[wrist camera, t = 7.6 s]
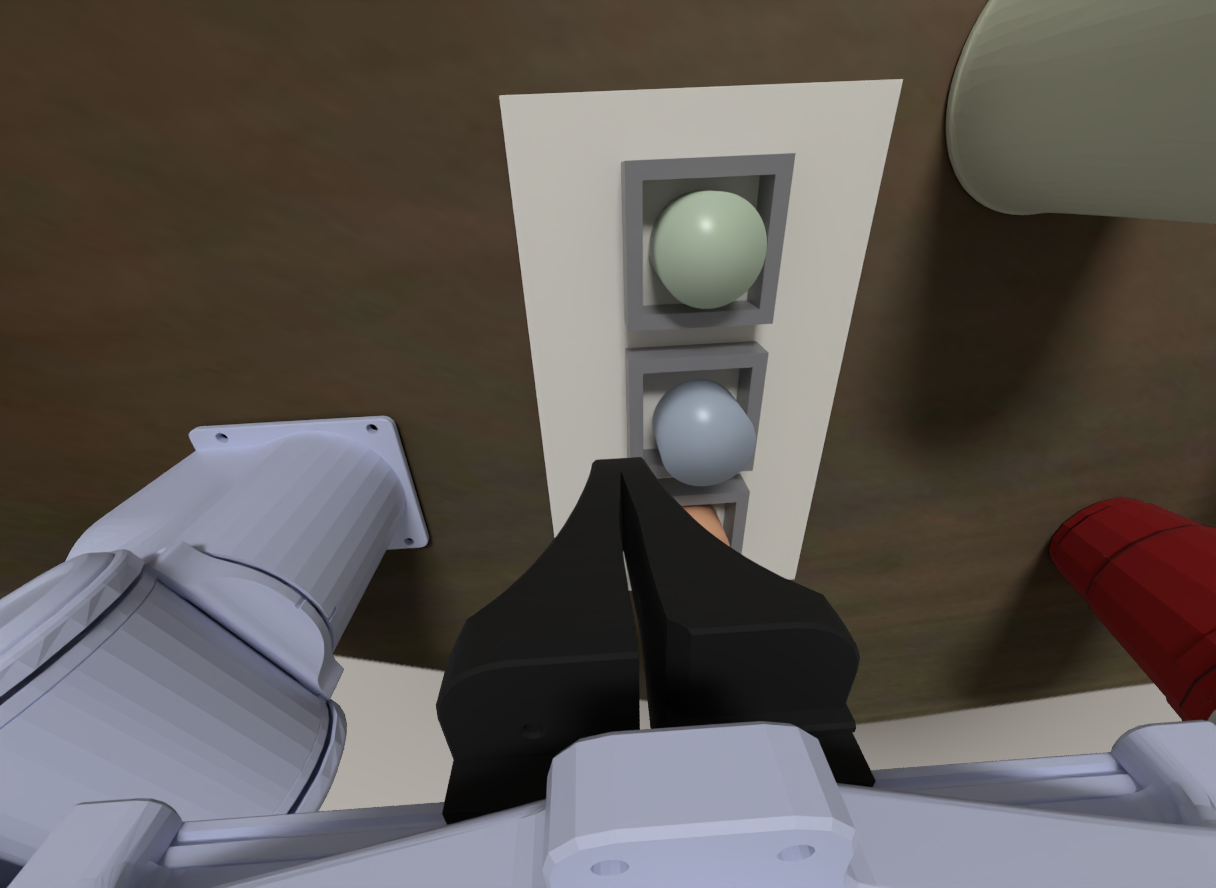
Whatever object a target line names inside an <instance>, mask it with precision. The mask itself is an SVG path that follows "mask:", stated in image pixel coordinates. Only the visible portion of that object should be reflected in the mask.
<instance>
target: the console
mask: <svg viewBox="0 0 1216 888" xmlns="http://www.w3.org/2000/svg"><path fill="white" fill-rule="evenodd" d="M902 82H903V79H892V80H868V81H843V82H819V83H794V84H770V85H745V86H721V87H697V88H672V89H648V90H623V91H599V92H574V93H550V94H526V95H501V96H499V99H500V107H501V114H502V122H503V130H504V138H505V146H506V154H507V162H508V170H509V178H510V186H511V194H512V202H513V210H514V218H515V226H516V234H517V242H518V250H519V258H520V266H521V274H522V282H523V290H524V298H525V306H526V314H527V322H528V330H529V338H530V346H531V354H532V362H533V370H534V378H535V386H536V394H537V402H538V410H539V418H540V426H541V434H542V442H543V450H544V458H545V466H546V474H547V482H548V490H549V498H550V506H551V514H552V522H553V529H554V537H556V536H557V535H558V533H559V532H560V530H561V529H562V527H563V526H564V524H565V523H566V521H567V519H568V518H569V516H570V514H571V513H572V511H573V509H574V508H575V506H576V504H577V502H578V500H579V498H580V496H581V494H582V492H583V490H584V487H585V485H586V483H587V480H588V477H589V474H590V471H591V467H592V463H593V462H594V461H595V460H599V459H616V458H633V457H642V458H643V459H644V460H645V461H646V463H647V465H648V466H649V468H650V469H651V470H652V472H653V473H654V475H655V476H656V477H657V479H658V480H659V481H660V482H661V484H662V485H663V486H664V487H665V488H666V490H667V491H668V492H669V493H670V494H671V495H672V496H673V498H674V499H675V500H676V501H677V502H678V503H679V504H680V505H681V506H687V505H702V504H711V505H712V506H713V507H714V508H715V510H716V512H717V515H718V517H719V519H720V522H721V524H722V527H723V529H724V532H725V534H726V537H727V539H728V541H729V544H730V547H731V548H733V549H734V550H736V551H737V552H739V553H740V554H742V555H743V556H745V557H747V558H748V559H750V560H752V561H753V562H755V563H757V564H759V565H760V566H762V567H764V568H766V569H768V570H770V571H772V572H774V573H776V574H778V575H779V576H781V577H784V578H786V579H795V574H796V570H797V565H798V561H799V556H800V551H801V547H802V542H803V538H804V533H805V528H806V524H807V519H808V515H809V510H810V505H811V501H812V496H813V491H814V487H815V482H816V478H817V473H818V468H819V464H820V459H821V455H822V450H823V445H824V441H825V436H826V432H827V427H828V422H829V418H830V413H831V409H832V404H833V399H834V395H835V390H836V386H837V381H838V376H839V372H840V367H841V363H842V358H843V353H844V349H845V344H846V340H847V335H848V330H849V326H850V321H851V316H852V312H853V307H854V303H855V298H856V293H857V289H858V284H859V280H860V275H861V270H862V266H863V261H864V257H865V252H866V247H867V243H868V238H869V234H870V229H871V224H872V220H873V215H874V211H875V206H876V201H877V197H878V192H879V188H880V183H881V178H882V174H883V169H884V165H885V160H886V155H887V151H888V146H889V142H890V137H891V132H892V128H893V123H894V118H895V114H896V109H897V105H898V100H899V95H900V91H901V86H902ZM695 190H712V191H722V192H729V193H733V194H736V195H738V196H740V197H742V198H744V199H745V200H747V201H748V202H749V203H750V204H751V205H752V206H753V207H754V208H755V209H756V210H757V212H758V213H759V215H760V217H761V219H762V221H763V224H764V227H765V231H766V236H767V251H766V256H765V261H764V264H763V267H762V269H761V271H760V274H759V275H758V277H757V279H756V280H755V282H754V283H753V285H752V286H751V287H750V288H749V289H748V290H747V291H746V292H745V293H744V294H743V295H742V296H741V297H739V298H738V299H736V300H735V301H733V302H731V303H729V304H727V305H724V306H722V307H718V308H712V309H700V308H695V307H691V306H688V305H686V304H684V303H682V302H681V301H679V300H678V299H677V298H675V297H674V296H673V295H672V294H671V293H670V291H669V290H668V289H667V288H666V286H665V285H664V284H663V283H662V281H661V280H660V279H659V278H658V276H657V275H656V273H655V271H654V269H653V267H652V264H651V260H650V255H649V240H650V235H651V231H652V228H653V225H654V223H655V221H656V219H657V217H658V216H659V214H660V213H661V211H662V210H663V209H664V208H665V207H666V206H667V205H668V204H669V203H670V202H671V201H672V200H673V199H675V198H677V197H678V196H680V195H682V194H684V193H687V192H690V191H695ZM697 379H704V380H710V381H714V382H716V383H719V384H721V385H722V386H724V387H725V388H726V389H728V390H729V392H730V393H731V394H732V395H733V397H734V398H735V399H736V401H737V402H738V404H739V405H740V407H741V408H742V409H743V411H744V412H745V414H746V415H747V416H748V418H749V419H750V421H751V422H752V424H753V427H754V430H755V434H756V444H755V449H754V452H753V455H752V457H751V459H750V460H749V462H748V463H747V465H746V466H745V467H744V468H743V469H742V470H741V471H740V472H739V473H738V474H736V475H735V476H734V477H732V478H730V479H729V480H727V481H725V482H722V483H719V484H716V485H711V486H692V485H688V484H685V483H682V482H680V481H678V480H677V479H675V478H674V477H673V476H672V475H671V474H670V473H669V472H668V471H667V470H666V468H665V466H664V464H663V462H662V459H661V455H660V452H659V449H658V445H657V442H656V438H655V435H654V431H653V425H652V420H653V414H654V410H655V408H656V406H657V404H658V402H659V401H660V399H661V398H662V397H663V396H664V395H665V393H667V392H668V391H669V390H670V389H672V388H673V387H675V386H677V385H679V384H681V383H683V382H686V381H690V380H697ZM623 556H624V551H623ZM624 564H625V570H626V576H627V583H628V589H629V591H630V590H632V589H631V585H630V580H629V575H628V570H627V566H626V561H625V556H624Z"/></svg>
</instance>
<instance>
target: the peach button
mask: <svg viewBox="0 0 1216 888" xmlns="http://www.w3.org/2000/svg"><path fill="white" fill-rule="evenodd" d="M682 507H683V508H684V509H685V510H686V511H687V512H688V513H689V514H690V515H691V516H692V517H693V518H694V519H695V520H696V521H697V522H698V523H700V524H701V525H702V526H703V527H704V528H705V529H707V530H708V531H709V532H710V533H712V534H713V535H714V536H715V537H717V538H718V539H719V540H721V541H722V542H724V543H725V544H727V545H728V546H730V544H729V541H728V539H727V537H726V534H725V532H724V529H723V527H722V524H721V522H720V519H719V517H718V515H717V512H716V510H715V508H714V507H713V506H712V505H711V504H702V505H687V506H682Z"/></svg>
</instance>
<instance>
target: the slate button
mask: <svg viewBox="0 0 1216 888" xmlns="http://www.w3.org/2000/svg"><path fill="white" fill-rule="evenodd" d="M652 425H653V431H654V435H655V438H656V442H657V445H658V449H659V452H660V455H661V459H662V462H663V464H664V466H665V468H666V470H667V471H668V472H669V473H670V474H671V475H672V476H673V477H674V478H675V479H677V480H678V481H680V482H682V483H685V484H688V485H692V486H711V485H716V484H719V483H722V482H725V481H727V480H729V479H730V478H732V477H734V476H735V475H736V474H738V473H739V472H740V471H741V470H742V469H743V468H744V467H745V466H746V465H747V463H748V462H749V460H750V459H751V457H752V455H753V452H754V449H755V444H756V434H755V430H754V427H753V424H752V422H751V421H750V419H749V418H748V416H747V415H746V414H745V412H744V411H743V409H742V408H741V407H740V405H739V404H738V402H737V401H736V399H735V398H734V397H733V395H732V394H731V393H730V392H729V390H728V389H726V388H725V387H724V386H722V385H721V384H719V383H716V382H714V381H710V380H704V379H697V380H690V381H686V382H683V383H681V384H679V385H677V386H675V387H673V388H672V389H670V390H669V391H668V392H667V393H665V395H664V396H663V397H662V398H661V399H660V401H659V402H658V404H657V406H656V408H655V410H654V414H653V420H652Z"/></svg>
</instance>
